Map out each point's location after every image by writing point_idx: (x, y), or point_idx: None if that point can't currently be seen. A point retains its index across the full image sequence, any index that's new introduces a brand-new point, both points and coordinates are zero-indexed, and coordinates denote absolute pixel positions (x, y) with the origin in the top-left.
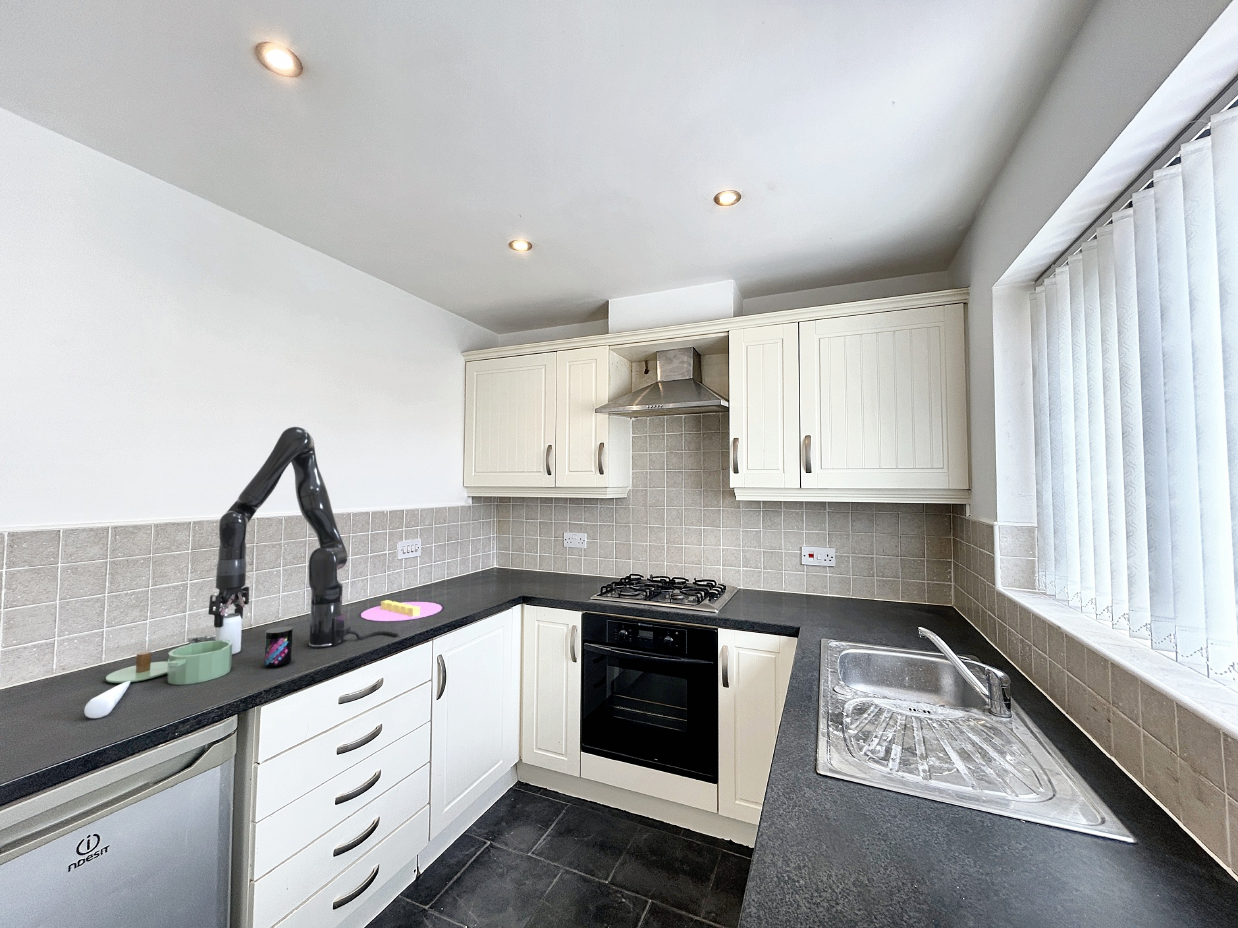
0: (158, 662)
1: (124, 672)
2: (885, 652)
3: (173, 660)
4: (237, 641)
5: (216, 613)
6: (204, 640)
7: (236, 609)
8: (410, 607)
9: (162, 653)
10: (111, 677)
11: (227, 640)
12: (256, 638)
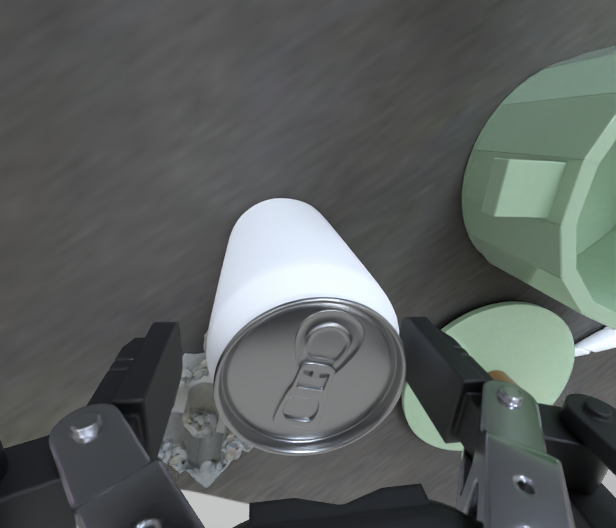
0: (412, 402)
1: None
2: None
3: None
4: (301, 211)
5: (611, 407)
6: (207, 418)
7: (155, 440)
8: None
9: (263, 476)
10: None
11: (517, 167)
12: (8, 263)
